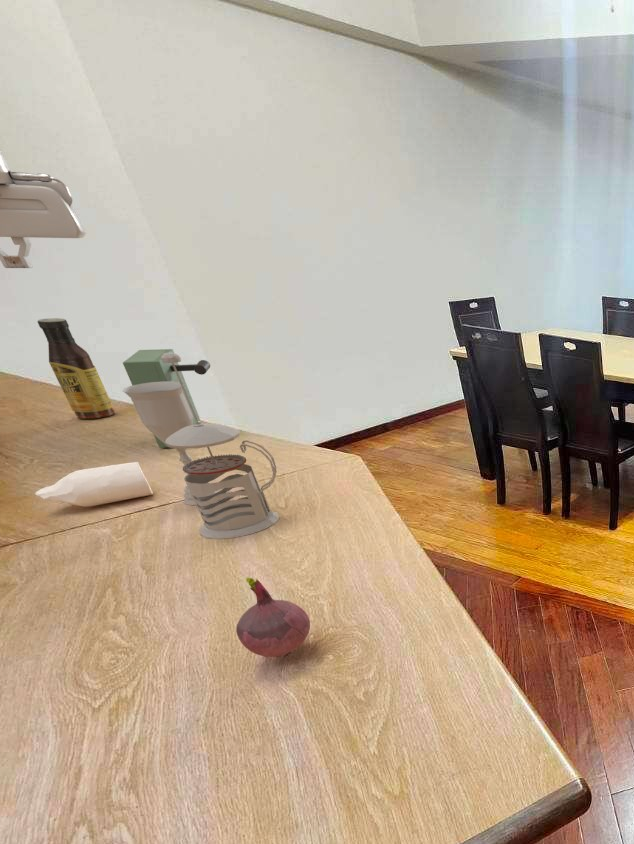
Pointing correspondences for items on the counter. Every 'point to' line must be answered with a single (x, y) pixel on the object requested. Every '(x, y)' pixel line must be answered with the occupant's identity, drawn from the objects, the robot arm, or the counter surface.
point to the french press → (222, 515)
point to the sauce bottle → (75, 371)
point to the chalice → (164, 414)
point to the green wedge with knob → (161, 373)
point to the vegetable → (272, 625)
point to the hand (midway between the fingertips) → (19, 267)
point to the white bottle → (99, 485)
